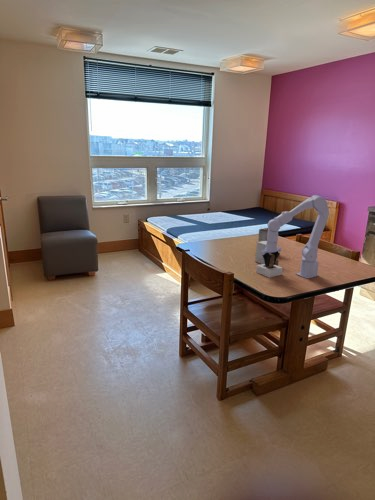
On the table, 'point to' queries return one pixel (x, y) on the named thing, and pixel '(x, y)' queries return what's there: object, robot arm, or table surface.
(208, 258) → the table surface
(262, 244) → the supplement box
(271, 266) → the brown rounded cylinder
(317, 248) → the robot arm
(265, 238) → the coffee box
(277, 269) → the hole block
